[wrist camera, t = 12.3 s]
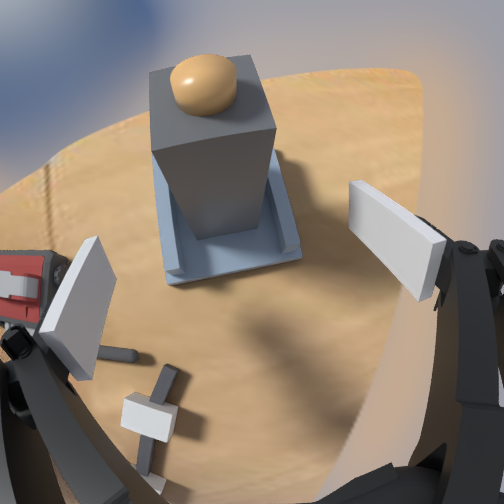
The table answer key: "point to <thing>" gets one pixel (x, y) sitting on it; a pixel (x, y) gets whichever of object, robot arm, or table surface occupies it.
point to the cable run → (151, 423)
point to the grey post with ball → (213, 141)
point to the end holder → (227, 246)
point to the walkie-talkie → (38, 292)
